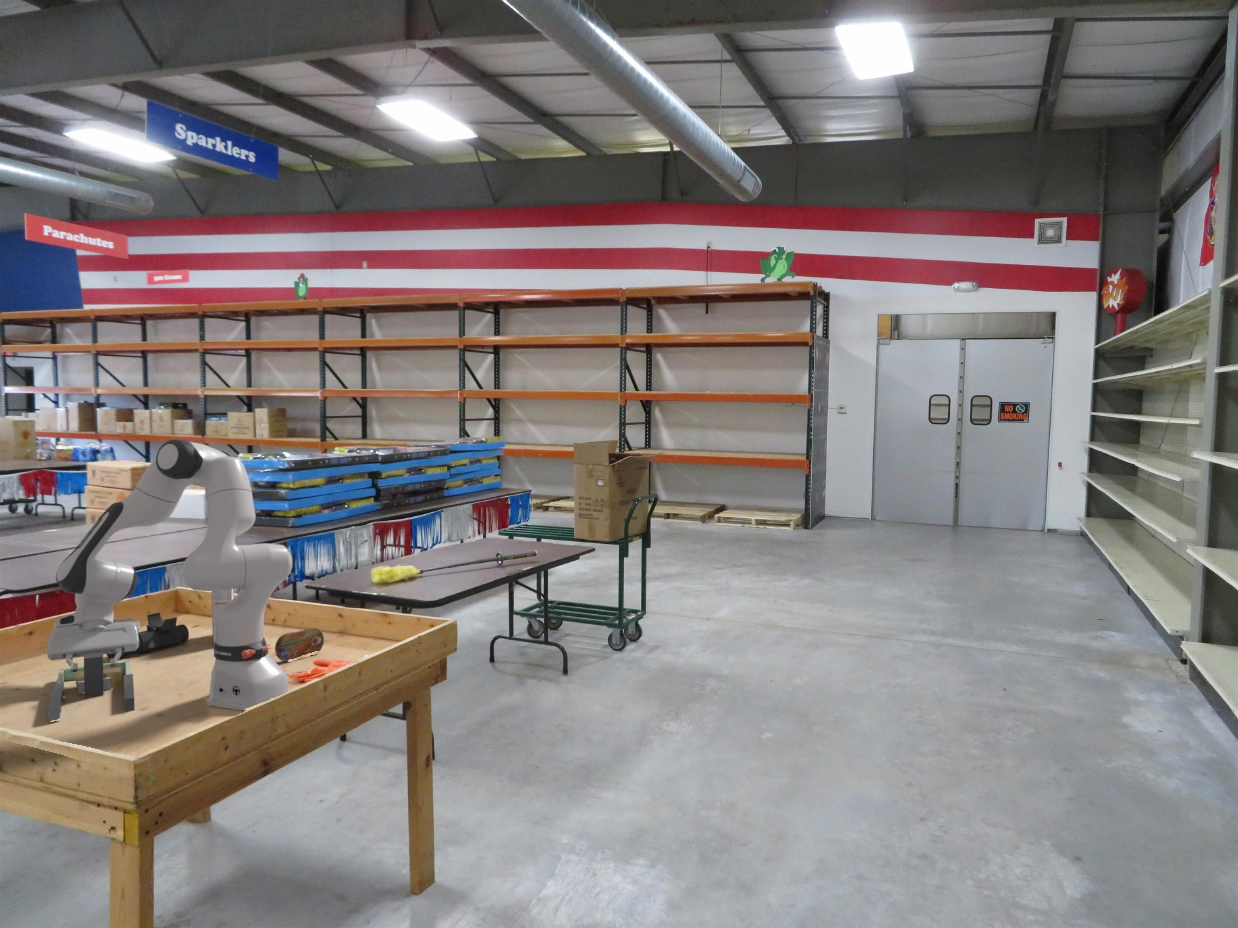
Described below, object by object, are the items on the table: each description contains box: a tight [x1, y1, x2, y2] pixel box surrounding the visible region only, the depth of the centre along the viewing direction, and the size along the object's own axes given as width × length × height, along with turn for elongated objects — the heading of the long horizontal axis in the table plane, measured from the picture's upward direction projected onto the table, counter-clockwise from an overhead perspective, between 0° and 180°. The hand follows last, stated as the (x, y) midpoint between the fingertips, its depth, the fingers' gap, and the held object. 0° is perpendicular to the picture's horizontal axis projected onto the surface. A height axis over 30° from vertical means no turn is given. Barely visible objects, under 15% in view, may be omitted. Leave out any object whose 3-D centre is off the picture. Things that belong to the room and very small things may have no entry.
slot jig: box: [48, 673, 135, 722], centre depth 196 cm, size 20×17×3 cm
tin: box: [274, 627, 325, 662], centre depth 235 cm, size 15×3×8 cm, turn 146°
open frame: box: [56, 660, 132, 684], centre depth 210 cm, size 13×16×3 cm
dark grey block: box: [77, 653, 112, 698], centre depth 202 cm, size 5×7×10 cm
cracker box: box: [211, 589, 235, 647], centre depth 251 cm, size 14×6×21 cm, turn 24°
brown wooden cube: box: [103, 667, 122, 688], centre depth 209 cm, size 4×4×4 cm
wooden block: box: [75, 672, 84, 693], centre depth 206 cm, size 4×4×4 cm
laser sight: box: [105, 612, 190, 660], centre depth 238 cm, size 10×22×10 cm, turn 149°
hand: (94, 668), depth 205 cm, fingers open, 7 cm apart
